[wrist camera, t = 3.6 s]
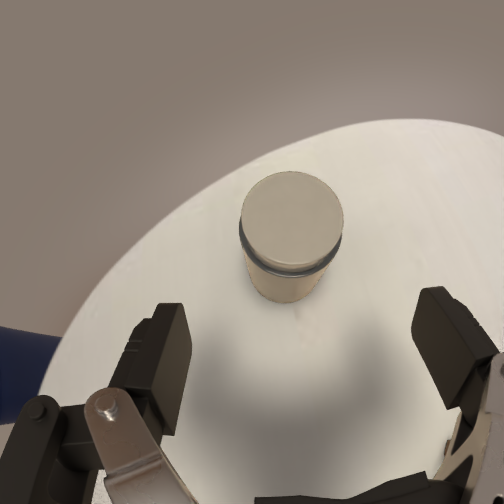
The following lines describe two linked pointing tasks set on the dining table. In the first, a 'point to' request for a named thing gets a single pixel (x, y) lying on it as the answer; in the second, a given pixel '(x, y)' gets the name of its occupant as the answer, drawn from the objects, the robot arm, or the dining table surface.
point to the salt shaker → (289, 234)
